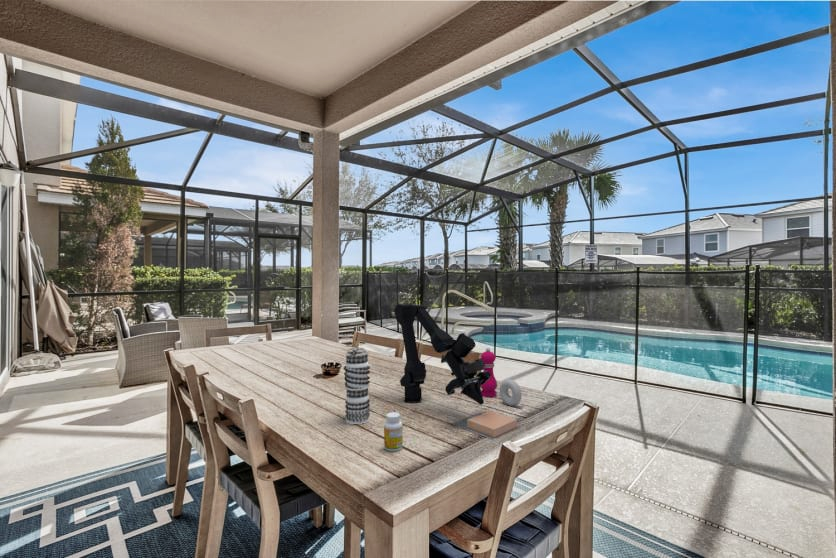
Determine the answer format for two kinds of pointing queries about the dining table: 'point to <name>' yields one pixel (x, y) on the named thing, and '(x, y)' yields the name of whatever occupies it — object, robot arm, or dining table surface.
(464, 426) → the rubber mat
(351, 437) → the dining table surface
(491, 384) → the pepper mill
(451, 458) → the dining table surface
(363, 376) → the decorative candle
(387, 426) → the supplement bottle
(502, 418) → the terracotta tile
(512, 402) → the donut
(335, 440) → the dining table surface
